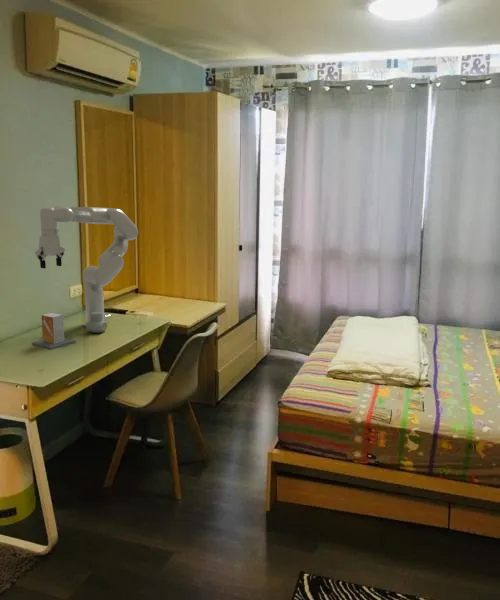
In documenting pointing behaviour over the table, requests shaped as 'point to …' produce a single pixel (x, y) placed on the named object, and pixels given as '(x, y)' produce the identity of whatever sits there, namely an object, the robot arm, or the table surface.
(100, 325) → the air freshener
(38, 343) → the rest mat
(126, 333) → the table surface
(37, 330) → the table surface
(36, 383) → the table surface
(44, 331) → the small box
